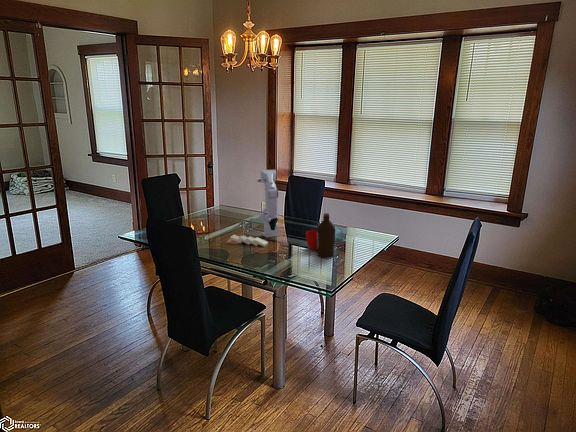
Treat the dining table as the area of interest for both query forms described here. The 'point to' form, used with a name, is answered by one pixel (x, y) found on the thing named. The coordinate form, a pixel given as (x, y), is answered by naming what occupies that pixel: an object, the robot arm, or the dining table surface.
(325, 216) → the olive oil
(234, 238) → the ivory domino
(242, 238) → the ivory domino
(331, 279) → the dining table surface
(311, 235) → the ceramic cup
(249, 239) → the ivory domino
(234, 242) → the terracotta domino
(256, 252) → the dining table surface
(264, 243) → the ivory domino
